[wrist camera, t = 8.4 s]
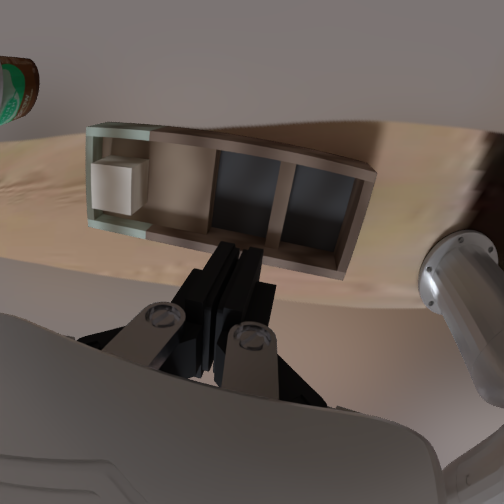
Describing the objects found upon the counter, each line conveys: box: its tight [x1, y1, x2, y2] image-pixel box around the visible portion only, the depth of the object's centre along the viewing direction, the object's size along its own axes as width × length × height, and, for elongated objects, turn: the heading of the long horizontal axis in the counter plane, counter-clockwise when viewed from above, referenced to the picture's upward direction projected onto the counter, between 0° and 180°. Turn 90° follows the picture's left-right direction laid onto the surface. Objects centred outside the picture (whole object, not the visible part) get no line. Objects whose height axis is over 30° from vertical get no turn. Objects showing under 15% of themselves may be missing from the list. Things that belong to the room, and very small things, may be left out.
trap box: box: [86, 122, 377, 281], centre depth 32 cm, size 30×12×4 cm, turn 81°
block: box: [91, 155, 149, 216], centre depth 31 cm, size 5×5×4 cm
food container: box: [0, 56, 39, 125], centre depth 27 cm, size 12×6×10 cm, turn 144°
